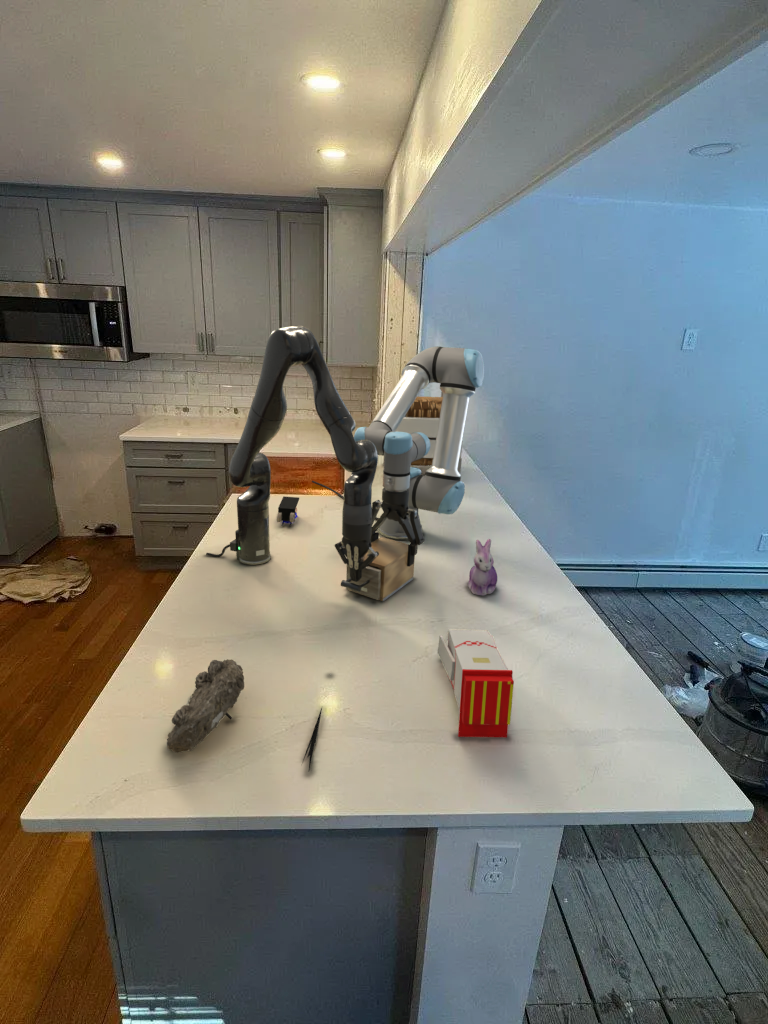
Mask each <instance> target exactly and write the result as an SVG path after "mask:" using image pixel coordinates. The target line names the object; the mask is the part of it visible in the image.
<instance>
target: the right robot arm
mask: <svg viewBox="0 0 768 1024" xmlns="http://www.w3.org/2000/svg"><path fill="white" fill-rule="evenodd" d="M484 379H485V363H484V358H483V355H482V353H481V352H480V351H479V350H477V349H473V348H467V347H449V346H448V347H447V346H440V345H439V346H431V347H427V348H425V349H424V350H421V351H420V352H418V353H417V354H415V355H414V356H413V357H412V358H410V360H409V361H408V362H407V363H406V364H405V365H404V367H403V369H402V370H401V377H400V378H399V381H398V382H397V383H396V385H395V387H394V388H393V389H392V391H391V393H390V394H389V395H388V397H387V399H386V400H385V401H384V403H383V405H382V406H381V408H380V409H379V411H378V412H377V414H376V415H375V417H374V419H373V420H372V422H371V423H370V424H369V426H368V427H367V426H360V427H357V429H356V430H355V432H354V434H353V437H354V439H355V441H359V440H369V441H371V442H372V443H373V444H374V445H375V447H376V449H377V453H378V456H383V463H384V464H383V471H382V473H383V474H382V487H383V488H382V489H381V490H382V491H381V494H382V495H381V500H380V499H377V500H374V501H373V502H371V505H372V532H371V538H370V541H371V543H372V542H374V541H375V540H377V539H379V538H380V535H381V536H382V537H384V538H388V539H391V540H395V541H409V543H408V544H409V545H408V559H407V566H409V567H410V566H411V565H412V564H414V565H415V561H414V556H415V557H416V555H417V554H418V547H419V546H420V545H422V544H423V543H425V537H424V533H423V525H422V524H421V518H420V515H419V510H421V511H422V510H423V511H427V512H432V513H437V514H439V515H442V514H443V515H453V514H455V513H456V512H457V511H458V509H459V508H460V506H461V504H462V502H463V499H464V496H465V490H466V489H465V488H466V485H465V483H464V481H462V480H461V479H462V475H461V474H459V472H458V470H457V468H458V462H459V456H460V450H461V444H462V445H463V443H462V441H463V439H464V431H465V426H466V419H467V415H468V408H469V401H470V398H471V397H472V396H473V395H475V394H476V389H477V388H481V387H482V385H483V383H484ZM433 383H436V384H439V390H440V391H441V392H443V399H442V405H441V412H440V418H439V424H438V430H437V437H436V443H435V449H434V455H433V462H432V465H430V466H429V468H428V469H426V471H425V474H422V470H421V468H419V467H415V466H411V463H412V462H414V461H416V460H418V459H421V458H423V457H424V456H425V455H426V454H427V453H428V452H429V450H430V440H429V438H428V437H427V436H426V435H425V434H423V433H421V432H417V433H416V432H414V433H412V434H409V433H406V432H395V431H396V429H397V428H398V426H399V424H400V423H401V421H402V420H403V418H404V416H405V415H406V413H407V412H408V410H409V408H410V407H411V405H412V404H413V402H414V400H415V399H416V397H417V396H418V397H419V394H420V392H421V391H422V390H424V389H426V388H427V387H428V385H429V384H433ZM311 483H312V484H315V485H317V486H320V487H322V488H325V489H327V490H329V491H331V492H332V493H334V494H335V495H336V496H337V495H338V497H340V498H341V499H342V500H344V495H342V494H340V493H339V492H338V491H336V490H335V489H333V488H330V487H329V486H327V485H324V484H322V483H320V482H317V481H315V480H311ZM380 509H381V510H382V514H381V515H380V516H379V517H378V513H379V511H380ZM376 520H377V521H376ZM374 522H375V523H374Z"/></svg>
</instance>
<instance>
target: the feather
mask: <svg viewBox="0 0 768 1024" xmlns="http://www.w3.org/2000/svg"><path fill="white" fill-rule="evenodd" d="M329 675H330V676H331V675H332V674H331V673H330V674H329ZM322 710H323V707H321V708H320V710H319V713H318V716H317V719H316V723H315V725H314V728H313V731H312V733H311V737H310V739H309V742H308V745H307V748H306V751H305V754H304V757H303V760H302V763H301V767H302V765H303V763H304V761H305V758H308V759H309V760H308V762H307V763H308V764H307V766H308V771H310V770H311V766H312V765H311V764H312V760H313V757H315V756H314V755H315V751H316V749H315V746H317V739H318V733H319V729H320V722H321V717H322V712H323V711H322ZM313 754H314V755H313ZM306 755H307V757H306Z"/></svg>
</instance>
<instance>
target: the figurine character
mask: <svg viewBox="0 0 768 1024" xmlns="http://www.w3.org/2000/svg"><path fill="white" fill-rule="evenodd" d="M299 500H300V497H297V496H285V495H284V496H283V497H282V498H281V501H280V503H279V505H278V507H277V514H276V515H277V516H276V523H281V524H280V526H281V527H284V525H285V524H289V526H288V527H292V525H293V523H295V521H296V519H297V518H298V517H299V516H298V508H297V506H298V503H299Z"/></svg>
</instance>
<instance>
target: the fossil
mask: <svg viewBox="0 0 768 1024" xmlns="http://www.w3.org/2000/svg"><path fill="white" fill-rule="evenodd" d="M243 670H244V669H243V667H242V665H240V664H237V662H236V661H235V660H234V659H232V658H231V659H227V658H226V659H224V660H223V661H222V660H217V659H212V660H211V661H210V663H209V665H208V666H207V671H201V672H199V673H198V674H197V675H196V676H195V680H194V684H195V685H194V687H195V689H194V690H193V693H192V694H191V697H190V698H189V700H188V704H184V705H182V706H181V707H180V709H177V710H176V711H175V713H174V715H173V716H172V718H171V723H172V724H173V727H172V730H171V731H170V732H168V734H167V738H166V741H167V742H166V745H167V749H168V750H169V751H173V752H174V753H176V754H178V753H182V752H188V751H189V752H192V751H193V750H195V748H196V747H197V746H199V744H200V743H201V742H203V741H204V740H205V739H206V738H207V737H208V736H209V735H210V734H211V733H212V732H214V730H215V729H217V727H218V726H219V724H220V722H221V721H222V720H223V719H224V718H225V716H226V717H227V719H229V720H233V717H232V715H230V714H229V710H230V709H231V708H234V706H235V704H236V703H237V702H238V699H239V697H240V695H241V693H242V691H243V690H245V689H244V688H245V675H244V671H243Z"/></svg>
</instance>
